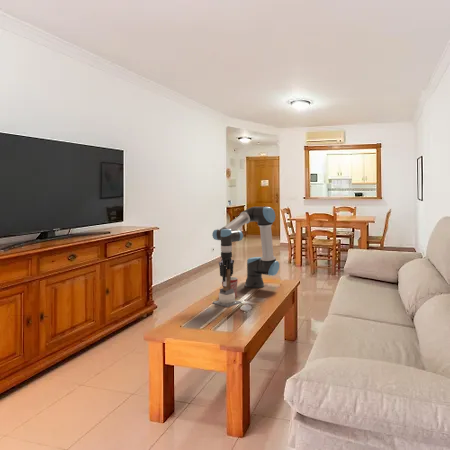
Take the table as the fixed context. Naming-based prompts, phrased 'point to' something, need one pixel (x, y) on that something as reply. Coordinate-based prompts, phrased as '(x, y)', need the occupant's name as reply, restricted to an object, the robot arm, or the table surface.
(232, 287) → the mug
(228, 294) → the square plate with disc
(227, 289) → the wood plank
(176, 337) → the table surface
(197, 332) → the table surface
